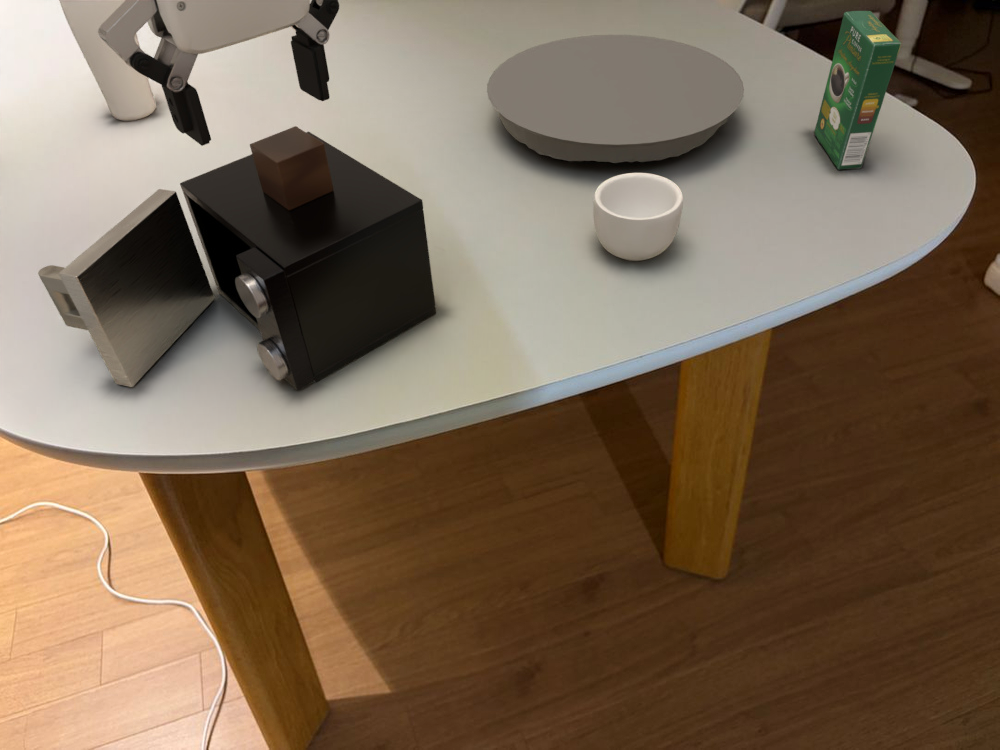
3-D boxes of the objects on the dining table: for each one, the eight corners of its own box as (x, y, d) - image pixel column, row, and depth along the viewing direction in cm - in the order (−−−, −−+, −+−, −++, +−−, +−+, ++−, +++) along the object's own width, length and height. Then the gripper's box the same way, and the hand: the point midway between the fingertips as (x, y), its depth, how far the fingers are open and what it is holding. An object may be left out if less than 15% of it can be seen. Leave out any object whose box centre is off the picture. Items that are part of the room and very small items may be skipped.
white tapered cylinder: (170, 114, 98) (126, -16, 87) (114, 130, 95) (61, -2, 85) (154, 95, 102) (109, -31, 92) (100, 111, 99) (48, -18, 89)
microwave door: (56, 370, 64) (-7, 260, 57) (145, 285, 72) (99, 179, 65) (132, 387, 62) (76, 276, 55) (215, 298, 70) (176, 191, 63)
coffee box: (865, 170, 81) (904, 40, 72) (837, 172, 81) (872, 42, 72) (838, 133, 87) (871, 8, 78) (812, 134, 87) (842, 10, 78)
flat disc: (514, 65, 104) (513, 30, 101) (736, 75, 99) (742, 39, 96) (463, 175, 84) (460, 135, 81) (737, 194, 79) (745, 153, 76)
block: (289, 211, 60) (276, 162, 57) (262, 191, 62) (249, 144, 59) (334, 191, 61) (324, 143, 59) (306, 172, 64) (295, 125, 61)
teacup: (654, 281, 69) (660, 229, 66) (576, 256, 73) (577, 205, 69) (698, 225, 75) (706, 174, 72) (624, 204, 79) (628, 154, 75)
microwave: (289, 398, 61) (252, 282, 53) (193, 305, 70) (150, 194, 62) (436, 313, 68) (422, 199, 60) (332, 238, 77) (308, 131, 69)
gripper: (286, -192, 53) (330, 65, 64) (15, -148, 44) (123, 137, 56) (351, -177, 48) (385, 95, 60) (65, -126, 40) (170, 177, 52)
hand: (258, 115), depth 58 cm, fingers open, 9 cm apart
